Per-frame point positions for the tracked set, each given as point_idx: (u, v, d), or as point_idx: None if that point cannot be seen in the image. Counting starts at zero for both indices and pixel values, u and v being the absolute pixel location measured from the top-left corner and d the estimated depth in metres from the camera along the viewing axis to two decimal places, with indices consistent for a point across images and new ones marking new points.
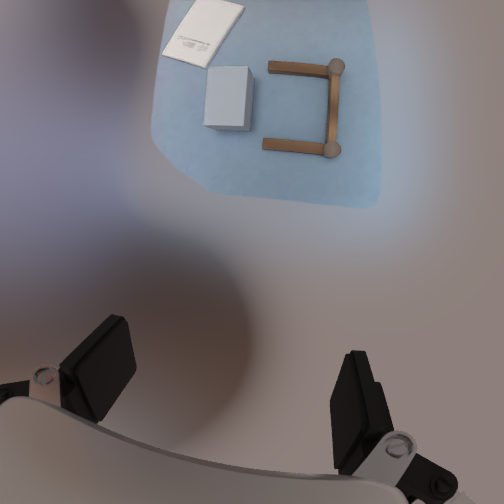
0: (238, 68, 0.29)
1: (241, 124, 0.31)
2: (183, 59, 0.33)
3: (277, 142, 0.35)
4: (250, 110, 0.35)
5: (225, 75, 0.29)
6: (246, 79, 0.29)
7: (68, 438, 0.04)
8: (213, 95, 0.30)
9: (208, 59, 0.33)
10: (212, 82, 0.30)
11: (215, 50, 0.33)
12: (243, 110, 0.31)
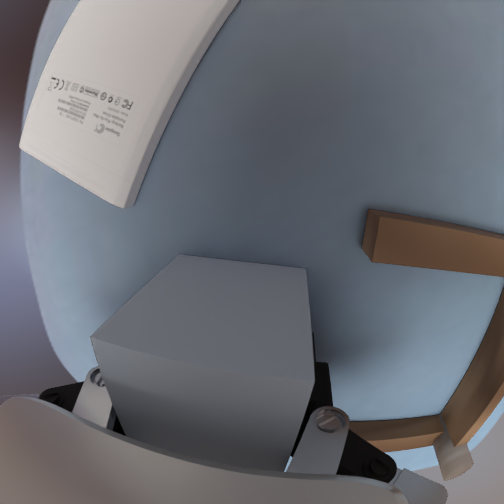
0: (253, 386, 0.05)
1: None
2: (61, 168, 0.10)
3: None
4: None
5: (186, 403, 0.06)
6: (295, 429, 0.06)
7: (68, 438, 0.04)
8: (154, 444, 0.07)
9: (131, 173, 0.09)
10: (133, 409, 0.06)
11: (155, 130, 0.09)
12: None
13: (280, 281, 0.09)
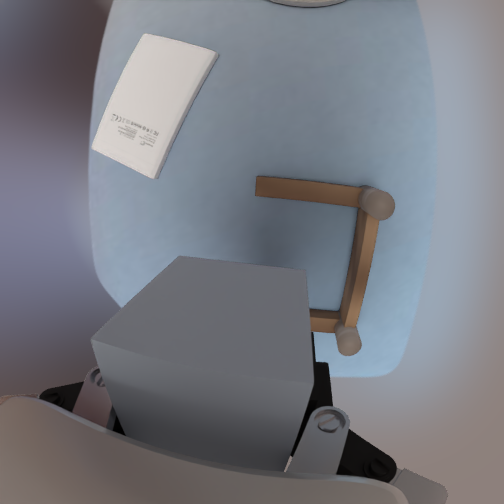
0: (253, 387, 0.05)
1: None
2: (120, 160, 0.23)
3: None
4: None
5: (186, 404, 0.06)
6: (294, 430, 0.06)
7: (68, 438, 0.04)
8: (154, 445, 0.07)
9: (158, 163, 0.22)
10: (133, 409, 0.06)
11: (168, 145, 0.22)
12: None
13: (280, 282, 0.09)
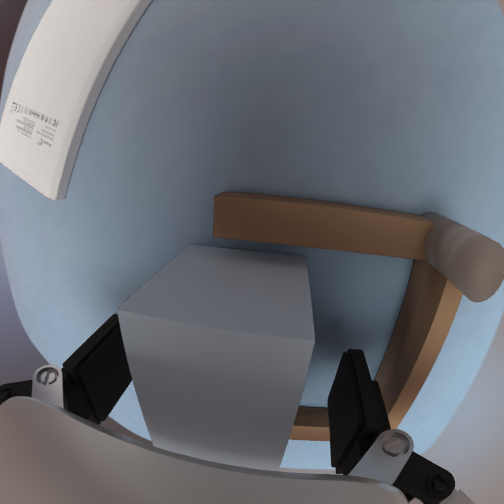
0: (262, 346, 0.06)
1: None
2: (18, 172, 0.11)
3: None
4: None
5: (202, 367, 0.07)
6: None
7: (68, 438, 0.04)
8: (168, 416, 0.08)
9: (58, 174, 0.11)
10: (151, 378, 0.07)
11: (72, 140, 0.11)
12: (276, 463, 0.08)
13: (283, 265, 0.10)
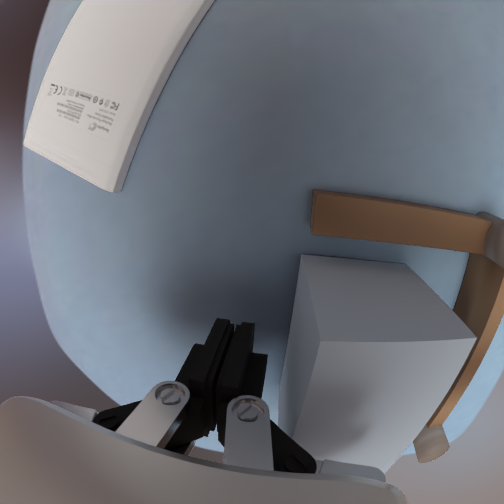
0: (445, 349, 0.06)
1: None
2: (60, 161, 0.11)
3: None
4: None
5: (391, 379, 0.06)
6: (449, 382, 0.07)
7: (68, 438, 0.04)
8: (324, 435, 0.07)
9: (118, 162, 0.11)
10: (328, 404, 0.07)
11: (137, 126, 0.11)
12: (400, 453, 0.08)
13: (401, 275, 0.10)
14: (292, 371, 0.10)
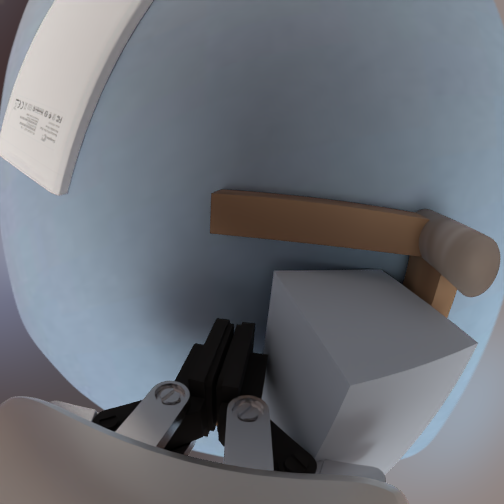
0: (453, 360, 0.06)
1: None
2: (21, 168, 0.12)
3: None
4: None
5: (407, 400, 0.06)
6: None
7: (68, 438, 0.04)
8: None
9: (62, 169, 0.11)
10: (347, 436, 0.06)
11: (76, 136, 0.11)
12: (401, 455, 0.08)
13: (383, 283, 0.10)
14: (283, 400, 0.09)
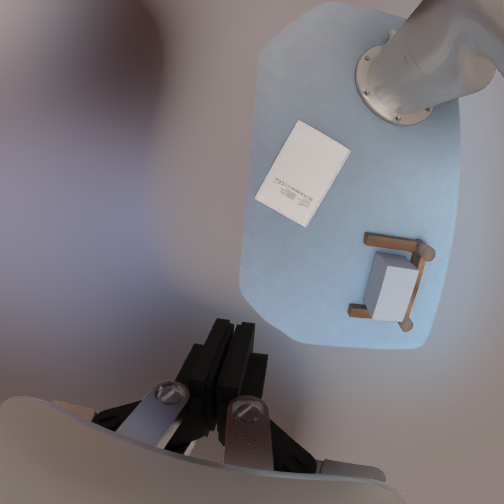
0: (411, 271, 0.33)
1: (401, 320, 0.35)
2: (281, 212, 0.38)
3: (362, 311, 0.40)
4: None
5: (400, 277, 0.33)
6: (414, 282, 0.33)
7: (68, 438, 0.04)
8: (386, 294, 0.34)
9: (310, 218, 0.38)
10: (388, 282, 0.34)
11: (317, 207, 0.37)
12: (405, 309, 0.35)
13: (402, 258, 0.37)
14: (374, 282, 0.37)
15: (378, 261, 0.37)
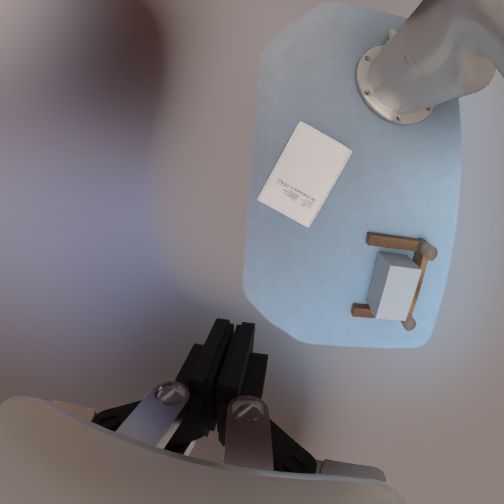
0: (414, 271, 0.33)
1: (404, 319, 0.35)
2: (284, 213, 0.38)
3: (365, 311, 0.40)
4: None
5: (403, 276, 0.33)
6: (417, 281, 0.33)
7: (68, 438, 0.04)
8: (389, 294, 0.34)
9: (313, 218, 0.38)
10: (390, 282, 0.34)
11: (320, 207, 0.37)
12: (408, 309, 0.35)
13: (404, 257, 0.37)
14: (377, 282, 0.37)
15: (381, 261, 0.37)
